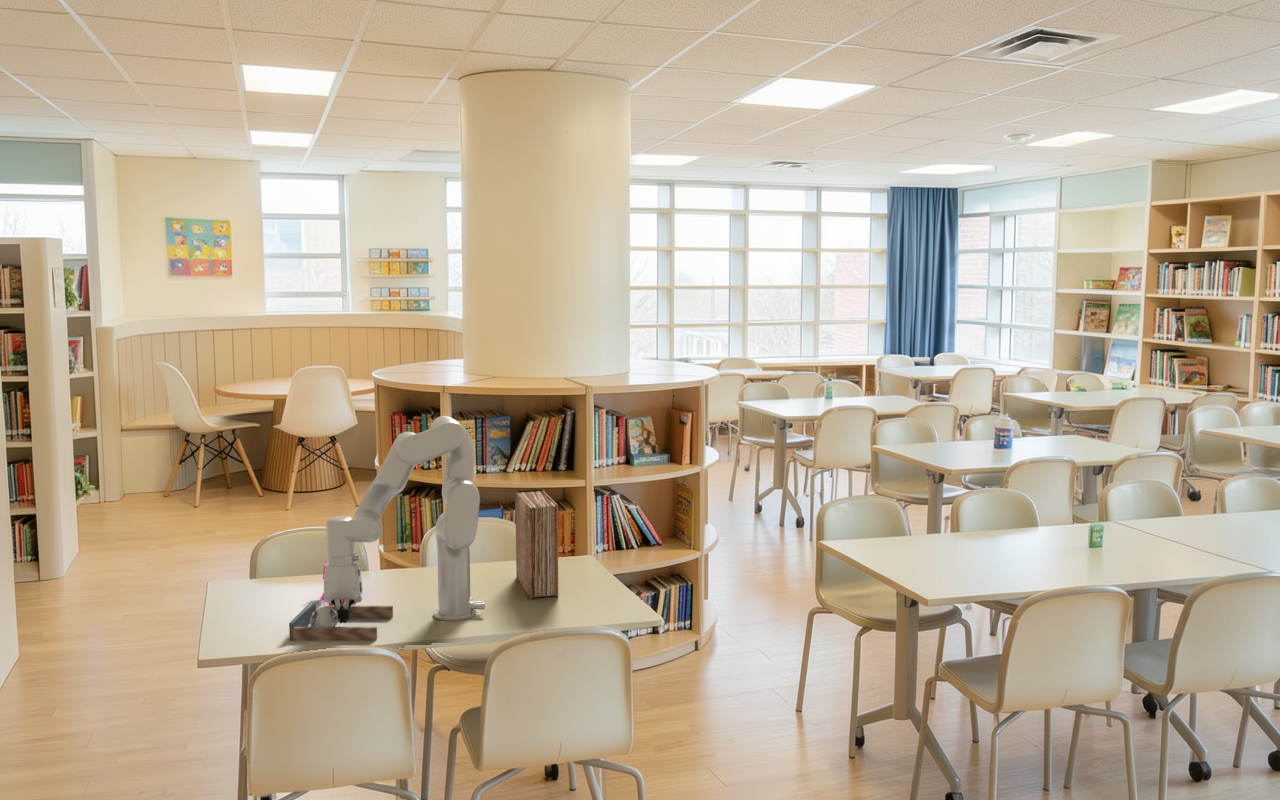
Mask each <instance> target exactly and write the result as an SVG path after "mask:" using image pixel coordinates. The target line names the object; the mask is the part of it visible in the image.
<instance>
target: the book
mask: <svg viewBox="0 0 1280 800" xmlns="http://www.w3.org/2000/svg"><path fill="white" fill-rule="evenodd" d="M514 504H515V505H514V506H515V507H514V508H515V514H514V515H515V516H514V517H515V554H516V555H515V556H516V558H515V560H516V561H515V564H516V565H515V567H516V579H517V580H518V582H519V584H520V585H521V587H522V589H523V591H524V592H525V594H526V595H527V597H528V598H529V600H530V601H531V600H532V599H533V598H541V597H542V598H543V597H544V598H545V597H553V596H556V597H557V598H558V597H559V513H558V512H559V507H558V503H556V502H555V500H554V499H553V498H552V497H550V496H549V495H548V493H546V492H545V490H543V489H528V490H516V491H515V490H514Z"/></svg>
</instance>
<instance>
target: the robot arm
mask: <svg viewBox="0 0 1280 800" xmlns="http://www.w3.org/2000/svg"><path fill="white" fill-rule="evenodd" d="M443 455H444V457H445V461H444V462H445V463H444V473H443V481H442V487H441V496H442V499H443V501H444V503H445V504H446V507H445V508H446V509H445V511H444V512H442V513H441V514H440V515H439V516H438V518H437V520H436V523H435V529H434V530H435V540H436V548H437V549H436V551H437V589H438V590H437V591H438V593H437V594H438V598H437V599H438V607H436V608H435V609H434V610H433V613H432V614H433V617H434V618H436V619H437V620H441V621H447V622H449V621H450V622H452V621H454V622H455V621H462V620H463V621H464V620H467V619H470V618H472V617H474V616H475V615H476V613H477V610H480V611H481V610H486V602H483V601H478V600H477V601H475V600H474V597H473V596H471V550H470V546H471V545H472V544H473V542H474V541H475V539H476V535H477V530H478V524H479V523H478V521H479V513H480V503H481V500H480V499H481V498H480V492H479V489H478V487H477V486H476V485H475V484H474V472H475V447H474V443H473V441H472V438H471V436H470V435H469V433H468V431H467V430H466V428H465V427H464V426H463V425H462V424H461V423H460V422H459V421H457V420H456V419H454V418H452V417H451V416H448V415H440V416H438V417H436V418H435V419H434V420H433V421H432V422H431V425H430V428H428V429H426V430H424V431H421V432H418V433H415V432H413V431H404V432H401V433H400V434H398V435H397V436H396V438H395V439H394V441H393V443H392V445H391V447H390V449H389V450H388V453H387V455H386V457H385V459H384V461H383V463H382V465H381V467H380V469H379V471H378V472H377V475H375V476H376V477H375V478H374V479H373V480H372V483H371V484H370V486H369V487H368V489H367V490H366V492H365V493H364V496H363V497H362V499H361V500H360V503H359V505H358V506H357V509H356V511H355V513H354V515H353V517H351V516H348V515H338V516H331V517H330V518H328V520H327V521H326V543H327V544H326V546H327V547H326V548H327V563H328V564H327V565H326V568H325V575H324V579H323V592H324V597H325V598H324V602H327V603H332V604H333V606H335V607H336V609H337V610H338V620H339V624H342V623H343V624H346V623H347V622H348V621H349V620H350V619H351V618H350V606H353V605H354V604H353V603H356V604H358V603H361V602H362V601H363V597H362V594H363V580H362V579H363V578H362V573H361V568H360V564H359V562H358V561H360V560H361V555H358V554H357V553H356V544H355V543H373V542H376V541H377V540H379V539H380V538H381V537H382V536H383V532H384V526H383V523H382V522H381V518H382V516H383V515H384V512H385V510H386V508H387V507H388V505H389V503H390V502H391V501H392V500H393V498H394V497H396V496H397V495H398V494H400V493H401V492H402V491H404V489H405V487H406V486H407V483H408V481H409V480H410V477H411V475H412V473H413V470H414V469H415V467H416V465H420V464H423V463H425V462H429V461H431V460H434V459H436V458H438V457H441V456H443ZM342 599H345V605H344V602H343V601H342ZM352 604H353V605H352Z"/></svg>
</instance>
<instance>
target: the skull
mask: <svg viewBox="0 0 1280 800" xmlns="http://www.w3.org/2000/svg"><path fill="white" fill-rule="evenodd" d="M317 606H318V607H317V608H316V609H315V611H314V612H313V614H312V616H311V618H310V624H309V627H336V626H337V625H338V623H339V619H338V616H337V613H336V611H335V610H333V609H332V607H330V606H329V603H327V602H324V601H321V600H320V601H319V603H318V604H317ZM335 616H336V617H337V618H335ZM313 618H315V619H313ZM335 619H336V620H335Z"/></svg>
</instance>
